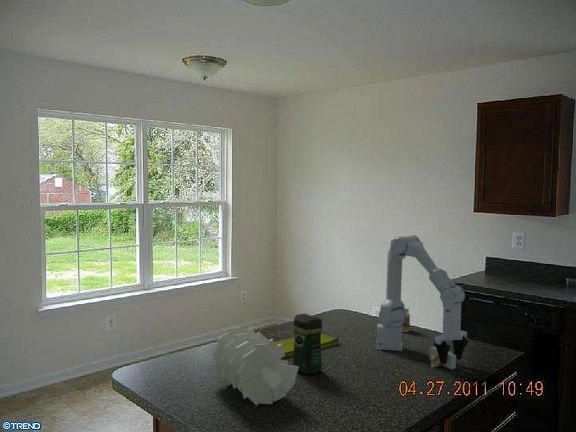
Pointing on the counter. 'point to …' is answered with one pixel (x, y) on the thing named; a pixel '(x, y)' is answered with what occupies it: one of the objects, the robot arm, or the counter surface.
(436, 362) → the birch board
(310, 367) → the coffee jar
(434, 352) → the notched plate
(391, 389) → the counter surface
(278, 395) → the spiral staircase
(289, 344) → the dish towel
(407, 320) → the pill bottle
